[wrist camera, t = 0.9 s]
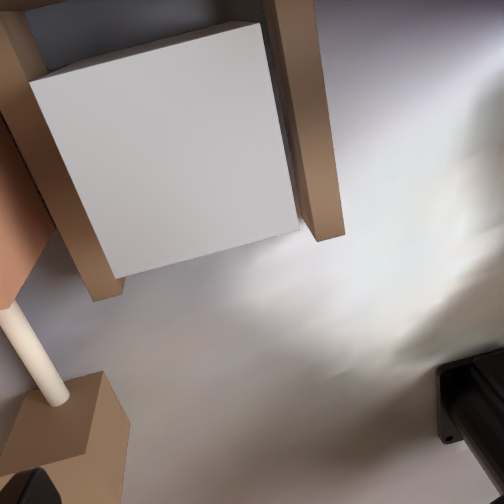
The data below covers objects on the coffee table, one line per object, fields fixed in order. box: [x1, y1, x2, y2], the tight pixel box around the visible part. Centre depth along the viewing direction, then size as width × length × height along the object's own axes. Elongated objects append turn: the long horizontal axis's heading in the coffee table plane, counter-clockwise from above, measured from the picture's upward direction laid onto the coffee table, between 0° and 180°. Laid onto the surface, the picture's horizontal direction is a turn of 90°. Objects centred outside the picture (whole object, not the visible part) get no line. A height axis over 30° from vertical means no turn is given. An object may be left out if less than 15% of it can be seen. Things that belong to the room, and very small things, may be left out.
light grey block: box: [29, 20, 300, 279], centre depth 16 cm, size 6×6×6 cm
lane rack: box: [0, 0, 345, 302], centre depth 14 cm, size 12×20×8 cm, turn 103°
